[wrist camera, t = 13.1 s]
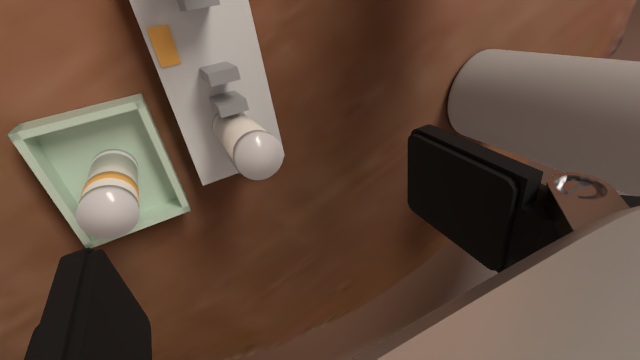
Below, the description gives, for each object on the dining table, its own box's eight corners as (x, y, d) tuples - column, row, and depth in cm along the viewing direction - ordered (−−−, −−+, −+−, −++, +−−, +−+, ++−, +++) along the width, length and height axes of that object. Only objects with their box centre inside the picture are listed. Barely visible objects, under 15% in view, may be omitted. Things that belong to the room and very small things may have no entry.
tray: (18, 123, 26) (7, 134, 24) (141, 93, 29) (142, 99, 27) (90, 232, 32) (87, 250, 29) (186, 197, 35) (190, 210, 32)
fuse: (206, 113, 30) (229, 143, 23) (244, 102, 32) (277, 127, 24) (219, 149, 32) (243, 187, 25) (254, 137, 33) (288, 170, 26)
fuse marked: (81, 157, 28) (63, 203, 21) (127, 143, 30) (125, 183, 22) (103, 192, 30) (92, 246, 23) (145, 178, 31) (148, 225, 24)
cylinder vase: (457, 150, 52) (660, 233, 32) (434, 88, 45) (679, 145, 25) (511, 98, 53) (741, 147, 33) (497, 29, 46) (782, 38, 26)
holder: (64, -163, 21) (44, -215, 17) (202, -165, 24) (218, -210, 19) (199, 178, 35) (210, 203, 30) (278, 150, 37) (299, 169, 33)
